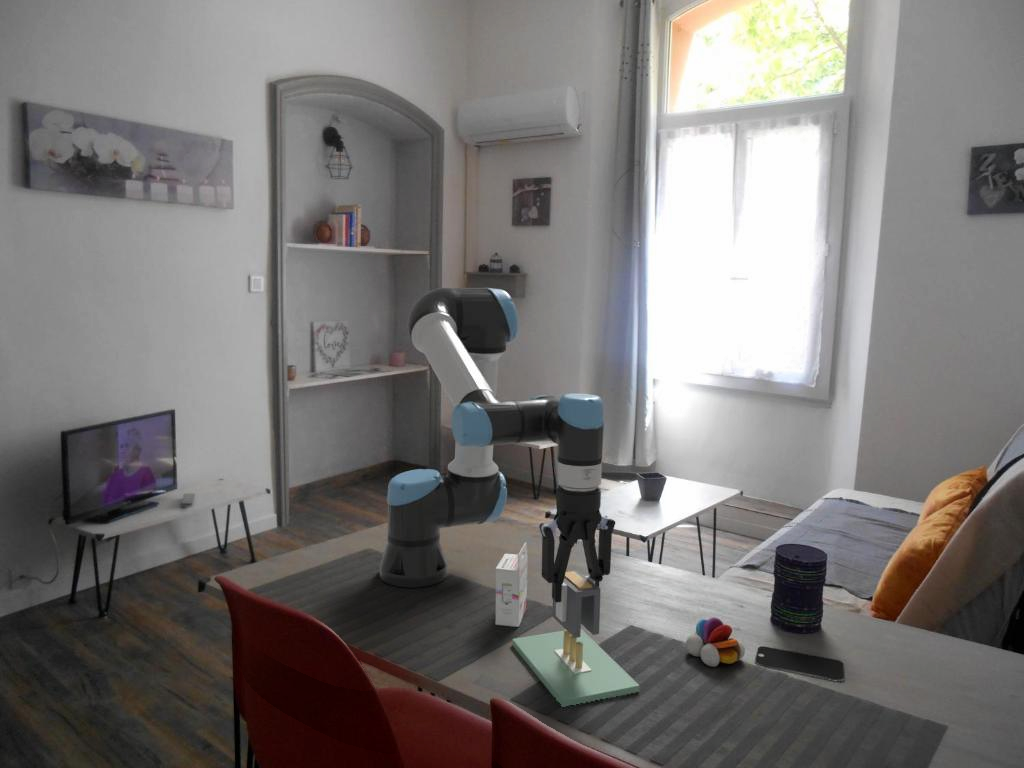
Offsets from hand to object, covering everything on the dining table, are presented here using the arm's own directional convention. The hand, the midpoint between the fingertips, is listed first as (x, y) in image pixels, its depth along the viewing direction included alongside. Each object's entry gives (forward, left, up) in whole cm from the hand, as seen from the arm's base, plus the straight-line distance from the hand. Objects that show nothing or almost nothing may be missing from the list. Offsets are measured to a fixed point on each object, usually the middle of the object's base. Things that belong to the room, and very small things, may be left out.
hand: (574, 616), depth 136 cm
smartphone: (+12, +39, -10) cm, 42 cm away
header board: (0, 0, -10) cm, 10 cm away
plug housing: (0, 0, -2) cm, 2 cm away
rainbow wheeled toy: (+5, +26, -10) cm, 28 cm away
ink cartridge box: (-22, -3, -10) cm, 25 cm away
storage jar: (-1, +50, -10) cm, 51 cm away
